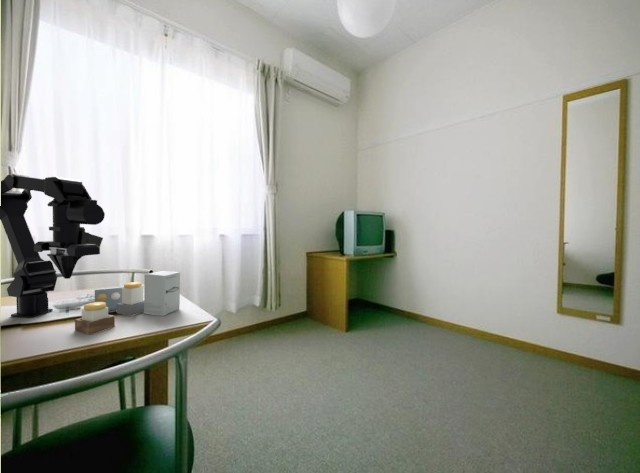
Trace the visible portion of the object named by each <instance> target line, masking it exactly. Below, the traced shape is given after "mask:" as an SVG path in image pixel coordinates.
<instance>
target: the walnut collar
mask: <svg viewBox="0 0 640 473" xmlns="http://www.w3.org/2000/svg"><path fill="white" fill-rule="evenodd" d="M115 319H116V316H115V315H113V314H108V317H107V318H103V319H100V320H97V321H93V322H89V321H85V320H82V317H80V318H76V319H74V331H75V332H78V333H82V334H87V335H90V336H91V335H94V334H97V333H100V332H103V331H107V330H109V329H112V328H115V327H116V325H115V323H116V322H115V321H116V320H115Z"/></svg>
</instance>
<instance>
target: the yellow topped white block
mask: <svg viewBox="0 0 640 473" xmlns="http://www.w3.org/2000/svg"><path fill="white" fill-rule="evenodd" d="M142 284H143V283H142V282H140V281H133V282H132V281H131V282H126V283H124V284H123V286H121V287H122V303H123V304H128V305H133V304H137V303H140V302H143V300H144V285H142Z"/></svg>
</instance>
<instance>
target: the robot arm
mask: <svg viewBox="0 0 640 473" xmlns="http://www.w3.org/2000/svg"><path fill="white" fill-rule="evenodd" d="M0 181H1V206H0V222H1V224H2V227H3V229H4V232H5V234H6V236H7V239H8V242H9V245H10V247H11V250H12V253H13V254H14V258H15V260H16V262H17V266H16V268H15V270H14V272H13V274H12V275H13V280H12V281H11V283H10V284H9V286H8V287H7V288H6V292H7V295H8V297H13V298H14V297H15V299H16V312H15V313H10V317H15V318H16V317H17V318H18V317H20V318H34V317H37V316H40V315H44V314H47V313H49V312H52V311H53V308H49V297H48V292H54V291H55V288H56V284H57V280H58V275H57V271H56V269H55V268H54V265H55V267H56V268H57V270H58V271H59V273H60V274H61V276H62V277H63V279H65V280H67V279H71V277H72V276H73V273H74V270H75V268H76V265H77V263H78V261H79V260H80V259H81V258H83V257H85V256H93V255H94V256H96V255H101V245H102V242H103V239H104V238H103V237H101V236H98V235H96V234H91V233H90V232H86V229H85V227H83V226H81V225H92V226H96V225H99V224H101V223H102V222H103V221H104V219H105V215H106V214H105V213H106V212H105V211H104V209H103V207H102V206H100V204H98V200H97V199H92V197H91V195H90V194H89V192H88V190H87V189H86V187H85V186H84V184H83V181H82V180H80V179H73V178H72V179H71V178H65V177H59V176H48V177H45V178H40V177H39V178H37V177H31V176H30V175H24V174H23V175H22V174H15V173H12V174H7V175H6V176H5V177H4V178H3V180H0ZM13 189H19V190H21V189H22V192H21V191H17V190H14V191H13ZM31 191H34V192H39V193H41V192H42V193H43V194H44V196H47V197H50V198H51V199H52V198H53V199H52V200H51V201H49V202H48V203H47V207H52V226H48V230H49V231H52V240H44V241H37V242H36V243H35V240H34V238H33V236H32V233H31V231H30V228H29V225H28V223H27V220H26V217H25V213H26V211H27V210H28V207H29V206H28V203H29V202H30V201H31V200H32V193H31ZM46 251H47V252H48V251H50V253H47V254H46V256H47V257H49V259H50V260H48V259H47V260H44V259H43V258H42V257H41V256H40V253H42V252H46ZM53 264H54V265H53Z"/></svg>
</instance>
